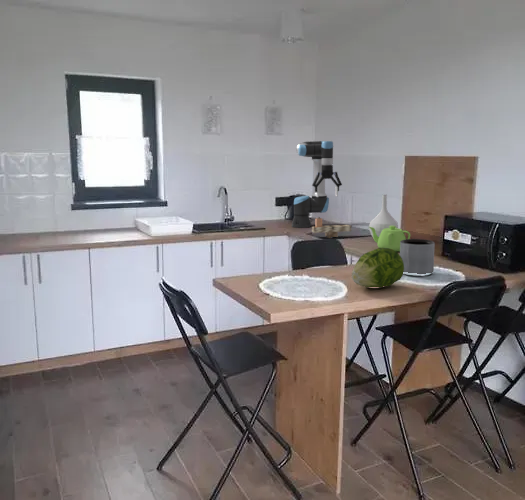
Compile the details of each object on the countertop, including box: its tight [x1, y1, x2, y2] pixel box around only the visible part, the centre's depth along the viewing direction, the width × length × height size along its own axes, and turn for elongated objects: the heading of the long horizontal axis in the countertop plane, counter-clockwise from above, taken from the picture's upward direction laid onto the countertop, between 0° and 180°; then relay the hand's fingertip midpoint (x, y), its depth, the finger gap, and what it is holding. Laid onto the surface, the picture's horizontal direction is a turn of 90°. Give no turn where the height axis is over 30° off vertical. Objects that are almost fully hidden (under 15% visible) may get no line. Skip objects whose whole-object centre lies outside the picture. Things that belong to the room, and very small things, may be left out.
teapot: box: [368, 226, 411, 253], centre depth 307 cm, size 19×20×14 cm
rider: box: [314, 216, 323, 227], centre depth 351 cm, size 4×3×8 cm
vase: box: [368, 194, 399, 238], centre depth 336 cm, size 18×18×30 cm
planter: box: [399, 238, 436, 274], centre depth 249 cm, size 16×16×16 cm
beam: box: [311, 224, 352, 239], centre depth 354 cm, size 26×8×8 cm, turn 101°
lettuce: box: [351, 247, 404, 288], centre depth 225 cm, size 17×23×17 cm
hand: (326, 196), depth 351 cm, fingers open, 13 cm apart
